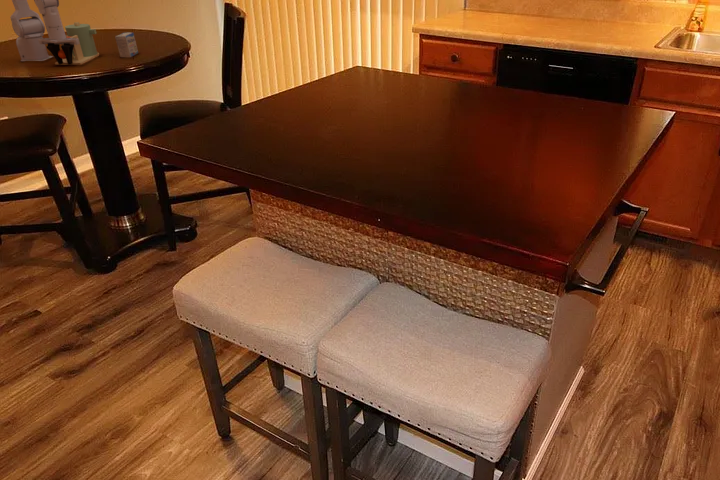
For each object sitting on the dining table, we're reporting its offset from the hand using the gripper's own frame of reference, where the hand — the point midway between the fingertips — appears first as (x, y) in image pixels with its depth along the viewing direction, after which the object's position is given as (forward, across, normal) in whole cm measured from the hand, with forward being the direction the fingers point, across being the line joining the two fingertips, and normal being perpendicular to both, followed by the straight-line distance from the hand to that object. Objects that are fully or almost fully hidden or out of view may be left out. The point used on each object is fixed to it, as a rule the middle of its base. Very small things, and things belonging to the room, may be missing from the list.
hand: (65, 63), depth 221 cm
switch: (-4, 0, +4) cm, 6 cm away
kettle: (+1, +1, +16) cm, 17 cm away
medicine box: (+1, +17, +18) cm, 25 cm away
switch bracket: (+1, 0, +7) cm, 7 cm away
